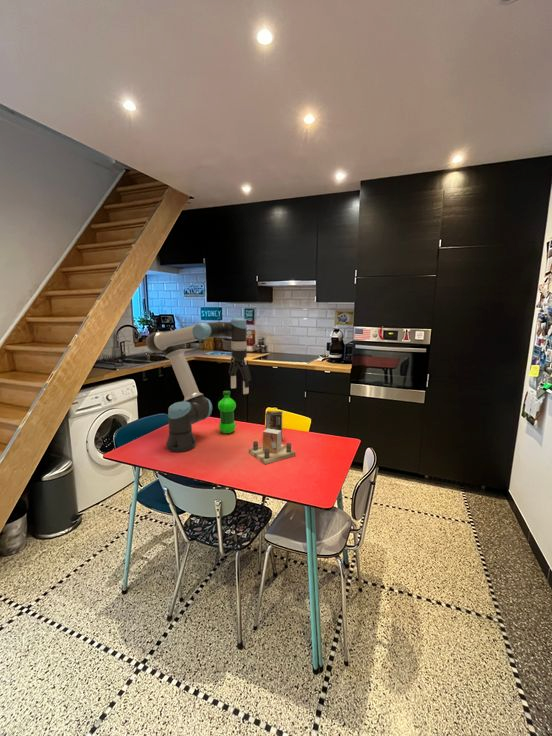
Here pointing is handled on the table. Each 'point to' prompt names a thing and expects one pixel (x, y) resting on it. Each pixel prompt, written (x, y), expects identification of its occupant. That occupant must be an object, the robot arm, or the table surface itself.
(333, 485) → the table surface
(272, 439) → the small box
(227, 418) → the plastic bottle
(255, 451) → the peg board
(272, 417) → the coffee box
